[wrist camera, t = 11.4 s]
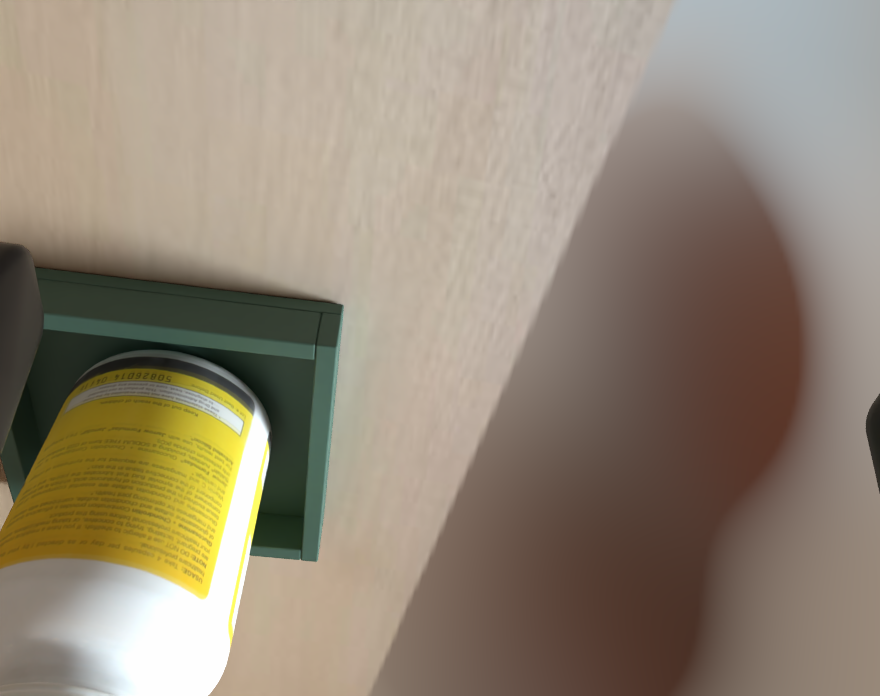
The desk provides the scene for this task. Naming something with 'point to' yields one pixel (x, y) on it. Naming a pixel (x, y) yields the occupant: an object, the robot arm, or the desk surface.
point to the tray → (216, 340)
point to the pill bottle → (133, 532)
